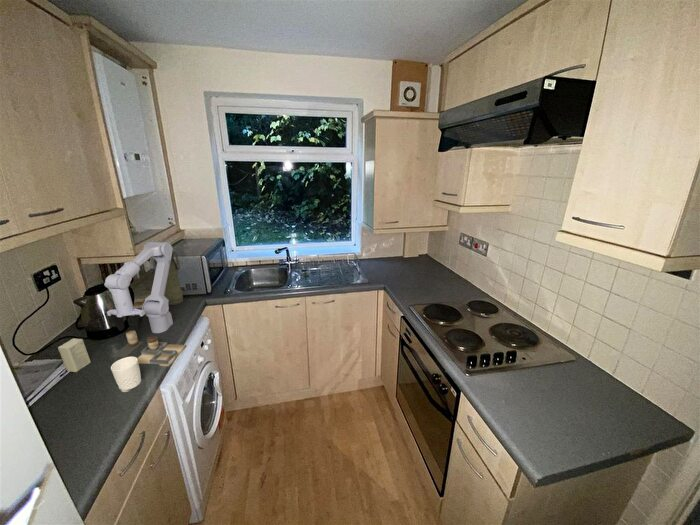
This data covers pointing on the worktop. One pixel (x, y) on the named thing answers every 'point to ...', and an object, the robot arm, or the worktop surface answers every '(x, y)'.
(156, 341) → the sleeve band up
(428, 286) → the worktop surface
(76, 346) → the skincare box
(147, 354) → the socket board
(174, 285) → the thermos
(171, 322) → the robot arm
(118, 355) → the pad
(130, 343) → the sleeve band down
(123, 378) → the white cup
